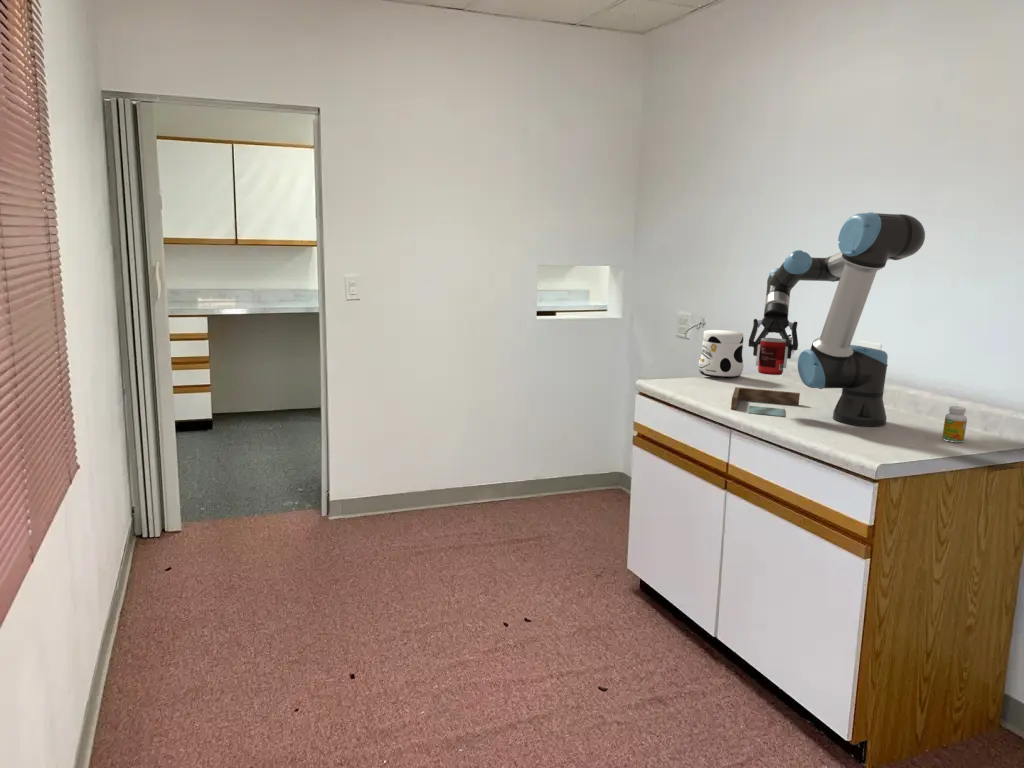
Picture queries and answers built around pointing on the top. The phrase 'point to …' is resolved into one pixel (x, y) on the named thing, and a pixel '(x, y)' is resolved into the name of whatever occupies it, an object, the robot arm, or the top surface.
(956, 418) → the supplement bottle
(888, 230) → the robot arm
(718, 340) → the milk container
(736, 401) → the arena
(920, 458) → the top surface
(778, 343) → the canned food
